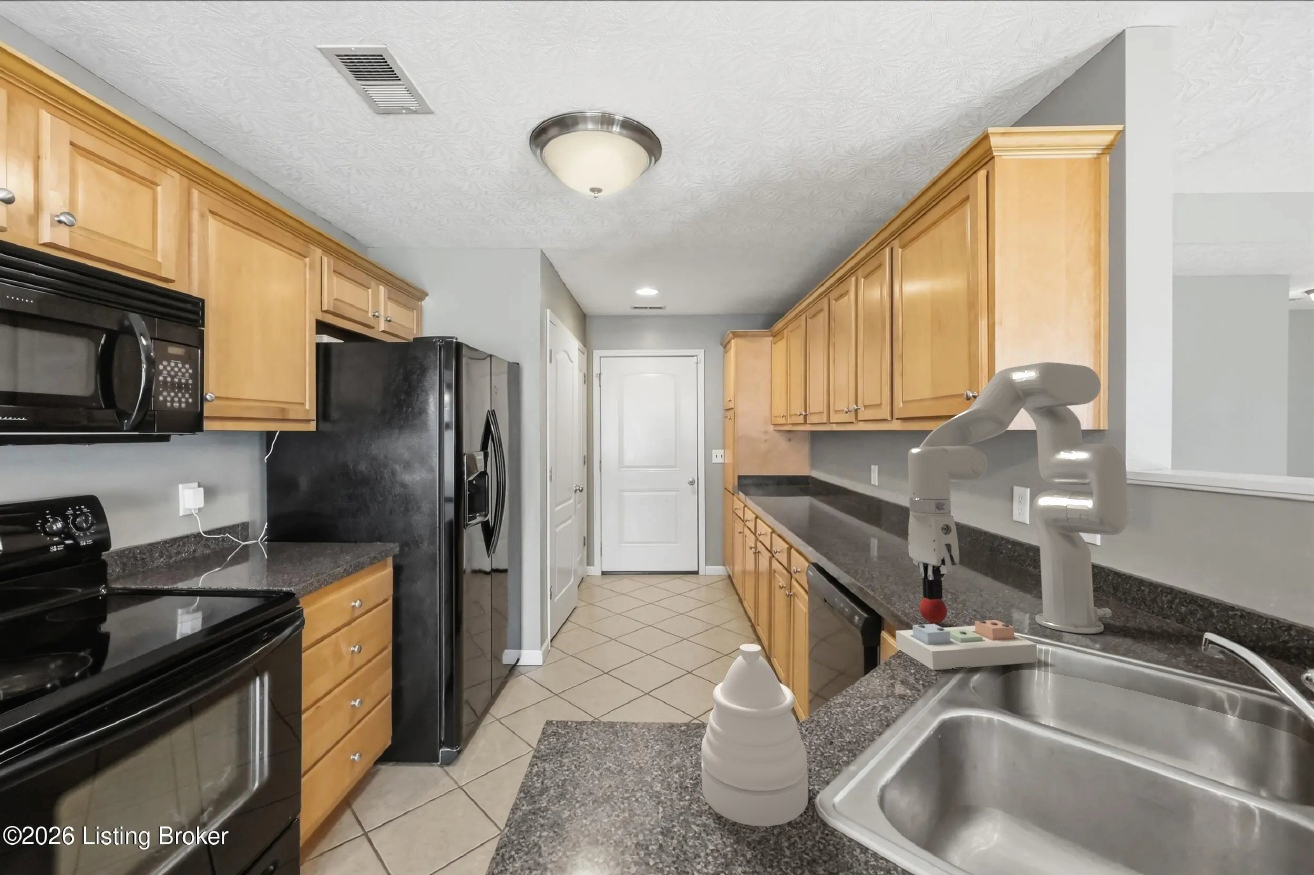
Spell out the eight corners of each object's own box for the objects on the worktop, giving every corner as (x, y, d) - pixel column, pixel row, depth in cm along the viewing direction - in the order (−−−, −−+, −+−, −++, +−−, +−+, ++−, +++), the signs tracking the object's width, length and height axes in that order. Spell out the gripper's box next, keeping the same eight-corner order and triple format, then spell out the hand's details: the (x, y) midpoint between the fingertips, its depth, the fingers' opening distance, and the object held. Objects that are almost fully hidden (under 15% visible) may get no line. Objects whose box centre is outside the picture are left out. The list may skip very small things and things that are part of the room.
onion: (941, 621, 128) (939, 588, 128) (952, 629, 122) (950, 594, 122) (916, 621, 128) (915, 588, 129) (926, 629, 123) (924, 594, 123)
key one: (966, 643, 109) (965, 627, 109) (983, 651, 105) (982, 635, 105) (944, 645, 109) (944, 629, 109) (961, 653, 104) (960, 637, 104)
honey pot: (814, 832, 57) (809, 664, 58) (697, 820, 59) (693, 659, 60) (802, 764, 70) (798, 627, 71) (706, 756, 72) (703, 624, 73)
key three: (996, 634, 110) (995, 619, 110) (1014, 642, 106) (1013, 626, 106) (975, 635, 110) (974, 620, 110) (992, 643, 105) (992, 627, 105)
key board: (990, 641, 114) (990, 624, 114) (1037, 662, 102) (1036, 643, 102) (896, 647, 111) (895, 630, 111) (932, 670, 99) (932, 651, 99)
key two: (934, 638, 109) (934, 622, 109) (950, 646, 104) (949, 630, 104) (913, 640, 108) (912, 624, 108) (928, 648, 103) (927, 631, 103)
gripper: (973, 510, 100) (976, 607, 99) (923, 504, 115) (926, 588, 114) (937, 511, 99) (940, 609, 98) (891, 504, 114) (894, 590, 113)
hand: (932, 598), depth 106 cm, fingers closed
